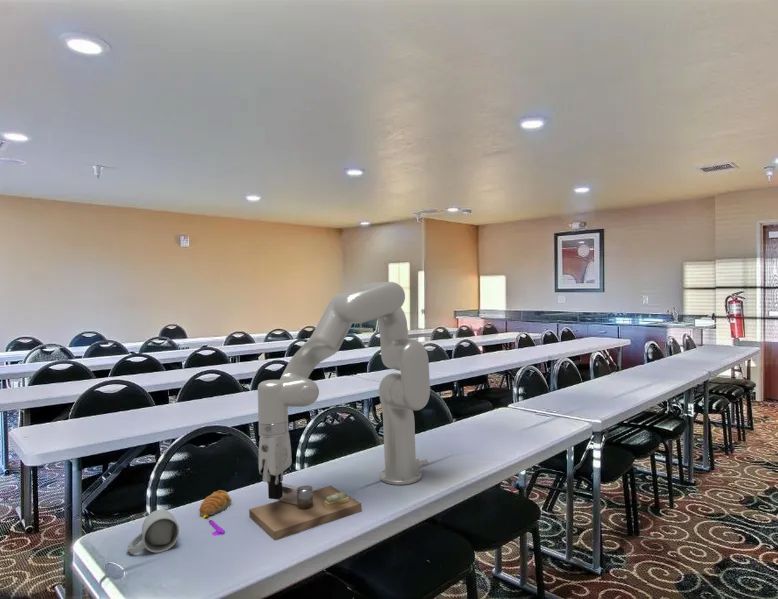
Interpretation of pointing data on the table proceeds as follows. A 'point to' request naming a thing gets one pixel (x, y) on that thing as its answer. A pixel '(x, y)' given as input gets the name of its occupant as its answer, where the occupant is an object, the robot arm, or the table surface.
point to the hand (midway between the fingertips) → (275, 497)
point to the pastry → (215, 503)
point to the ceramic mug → (156, 533)
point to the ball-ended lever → (297, 495)
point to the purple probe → (212, 523)
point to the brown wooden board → (304, 513)
